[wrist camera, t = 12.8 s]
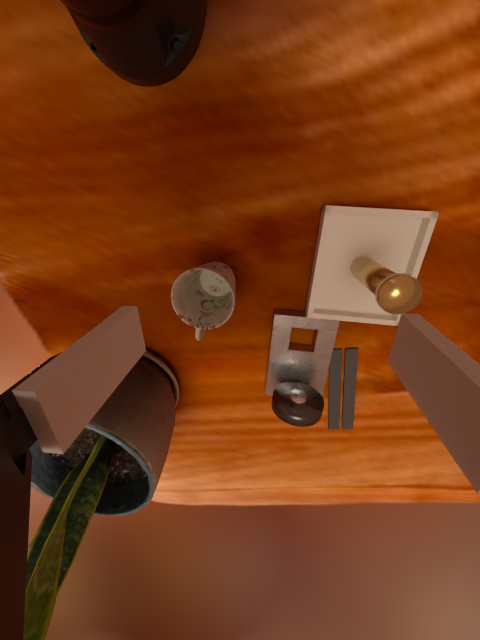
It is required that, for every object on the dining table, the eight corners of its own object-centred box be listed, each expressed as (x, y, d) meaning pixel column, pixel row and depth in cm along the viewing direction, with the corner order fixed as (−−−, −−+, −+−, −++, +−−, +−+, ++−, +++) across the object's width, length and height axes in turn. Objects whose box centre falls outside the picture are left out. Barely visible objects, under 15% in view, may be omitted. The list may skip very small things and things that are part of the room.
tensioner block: (274, 308, 44) (274, 340, 34) (336, 314, 43) (355, 348, 33) (265, 386, 50) (263, 431, 40) (318, 392, 49) (330, 440, 39)
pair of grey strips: (329, 348, 45) (329, 350, 45) (357, 347, 45) (358, 348, 44) (328, 427, 53) (328, 428, 52) (352, 427, 52) (352, 428, 51)
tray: (322, 205, 37) (326, 205, 34) (428, 211, 35) (439, 211, 33) (304, 311, 43) (306, 317, 41) (393, 319, 42) (400, 326, 40)
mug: (247, 260, 41) (240, 276, 32) (232, 330, 46) (223, 361, 37) (195, 248, 41) (173, 261, 32) (186, 319, 46) (165, 348, 37)
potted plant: (147, 437, 60) (-46, 801, 23) (71, 373, 55) (-331, 715, 18) (214, 394, 52) (82, 826, 16) (133, 315, 47) (-332, 694, 11)
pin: (350, 251, 38) (384, 273, 26) (380, 253, 38) (429, 277, 26) (343, 279, 40) (373, 312, 28) (372, 281, 39) (415, 316, 28)
